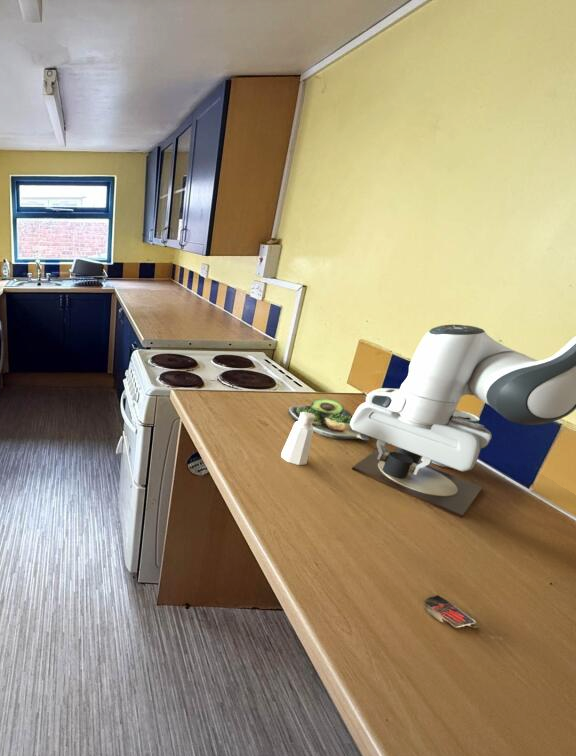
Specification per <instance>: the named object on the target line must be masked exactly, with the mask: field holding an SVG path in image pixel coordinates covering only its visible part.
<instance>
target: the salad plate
mask: <svg viewBox="0 0 576 756" xmlns="http://www.w3.org/2000/svg"><path fill="white" fill-rule="evenodd" d="M301 412H308V413H311V414H313V415H314V416H315V419H314V421H313V423H312V425H313V433H316V434H318V435H320V436H323V437H327V438H330V439H333V440H341V441H342V440H343V441H345V440H357V439H359V440H363V441H367V442H369V441H370V437H369V436H367V435H365V434H362V433H360V432H357V431H354V430H352V428H351V426H350V422H351V419H352V417H353V415H352V413H350V411H349V410H347V409H345V408H344V406H343V405H342V403H340V402H339V401H337V400H334V399H330V398H319V399H315V400H313V401H312V402H311V404H310V405H292V406H290V407H289V408H288V414H289V415H290V417H291V418H292V419H293V420H294V421H295V422H297V421H299V417H300V413H301Z"/></svg>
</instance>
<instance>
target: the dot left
mask: <svg viewBox="0 0 576 756" xmlns="http://www.w3.org/2000/svg"><path fill="white" fill-rule="evenodd" d="M395 452H398V453H402V454H405V455H407V456H409V457H411V458H412V459H413V463H416V464H418V462H419V463H420V460H421V458H422V456H420V455H417V454H415V453H412V452H410V451H407V450H404V449H402V448H399V447H397V449H396V451H395Z"/></svg>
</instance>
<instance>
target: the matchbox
mask: <svg viewBox="0 0 576 756" xmlns="http://www.w3.org/2000/svg"><path fill="white" fill-rule="evenodd" d="M423 603H424V604H426V606H425V607H424V608H425V609H424V610H425V611H427V613H428V614H429V615H430V616H432V617H433V618H435V619H436V620H437V621H439V622H441V623H444V621H445V622H446V623H448V624H449V625H451V626H452V627H454V628H458V629H459V628H461V627H465V626H468V627H471V628H473V629H477V628H478V627H479V624H476V623H477V621H476V620H475V619H474V618H472V617H471V616H469V615H468V613H466V612H464V611H463V610H461V609H459V608H458V607H457V606H456V605H455V604H454V603H453V602H451V601H449V600H447V599H445V598H443V597H442V596H440V595H439V594H435V595H432V596H428V597H427V598H426V599H425V600H424V601H423Z"/></svg>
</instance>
